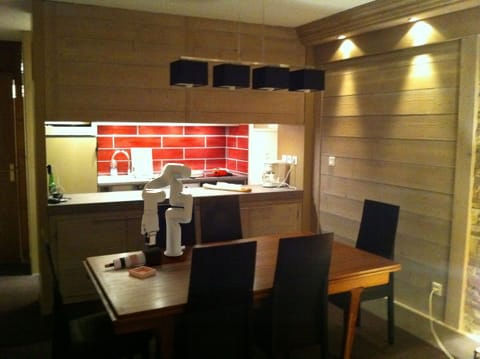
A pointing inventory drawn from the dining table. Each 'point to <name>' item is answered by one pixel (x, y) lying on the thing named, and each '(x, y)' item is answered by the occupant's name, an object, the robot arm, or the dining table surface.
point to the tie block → (152, 238)
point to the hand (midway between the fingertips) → (150, 242)
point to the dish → (142, 272)
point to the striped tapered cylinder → (138, 259)
